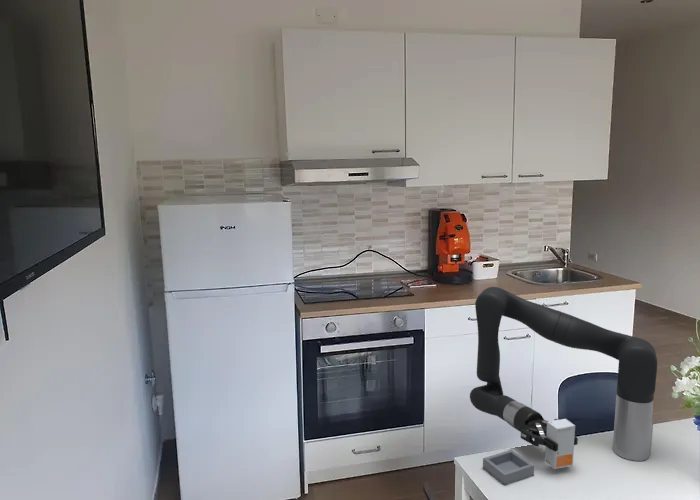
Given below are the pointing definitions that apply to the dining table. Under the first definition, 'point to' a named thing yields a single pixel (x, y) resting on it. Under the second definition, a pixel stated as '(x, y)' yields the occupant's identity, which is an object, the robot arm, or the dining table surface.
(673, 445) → the dining table surface
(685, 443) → the dining table surface
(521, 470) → the gray tray
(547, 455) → the skincare box
